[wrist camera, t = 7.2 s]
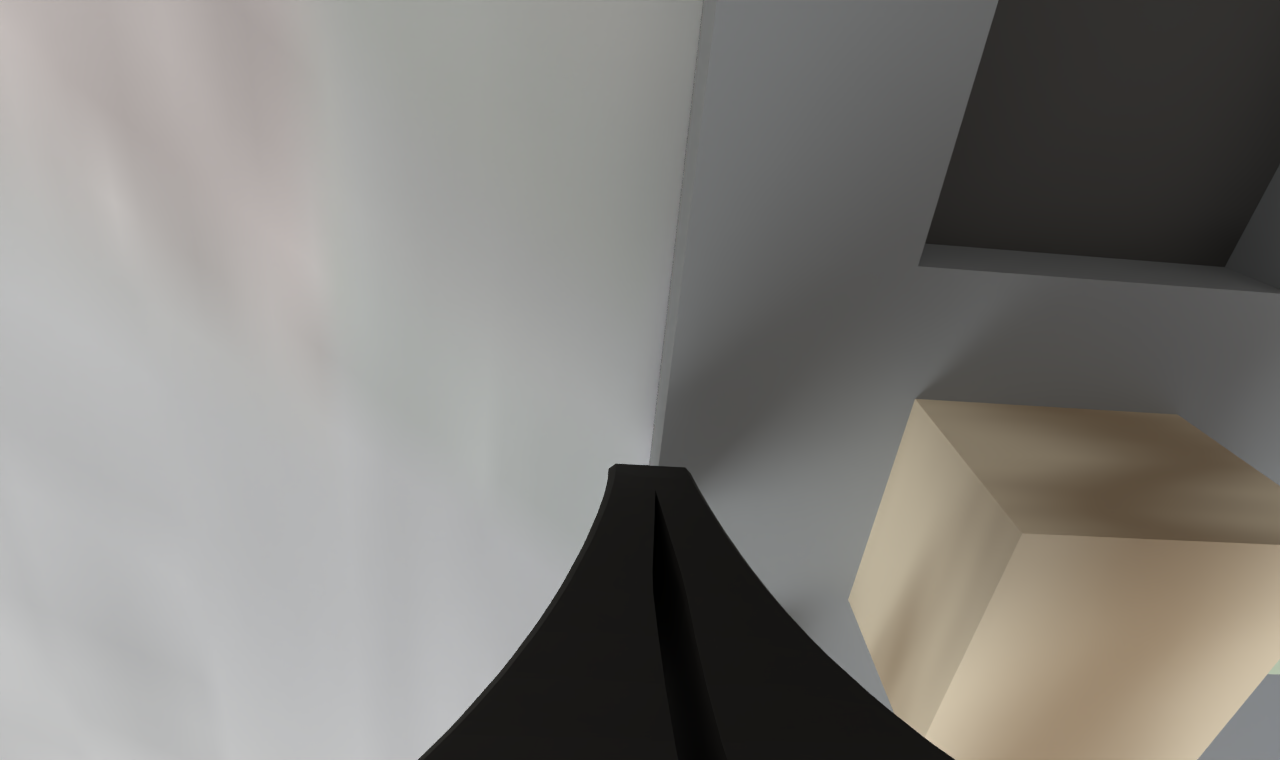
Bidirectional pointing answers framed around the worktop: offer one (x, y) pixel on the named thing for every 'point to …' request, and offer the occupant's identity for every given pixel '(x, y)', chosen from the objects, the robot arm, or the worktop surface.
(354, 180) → the worktop surface
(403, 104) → the worktop surface
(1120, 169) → the slate board
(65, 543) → the worktop surface
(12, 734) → the worktop surface
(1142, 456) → the birch block
